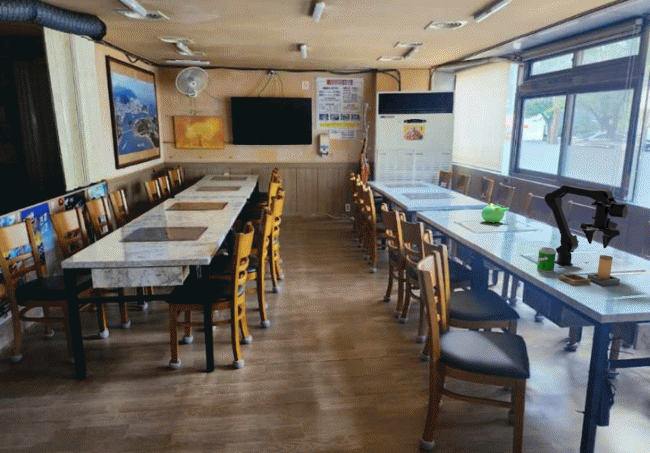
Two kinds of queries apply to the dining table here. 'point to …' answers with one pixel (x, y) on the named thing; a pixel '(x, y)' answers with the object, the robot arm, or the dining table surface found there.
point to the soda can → (546, 259)
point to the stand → (574, 279)
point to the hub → (604, 281)
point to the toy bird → (493, 213)
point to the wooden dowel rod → (604, 267)
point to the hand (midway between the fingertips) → (597, 245)
